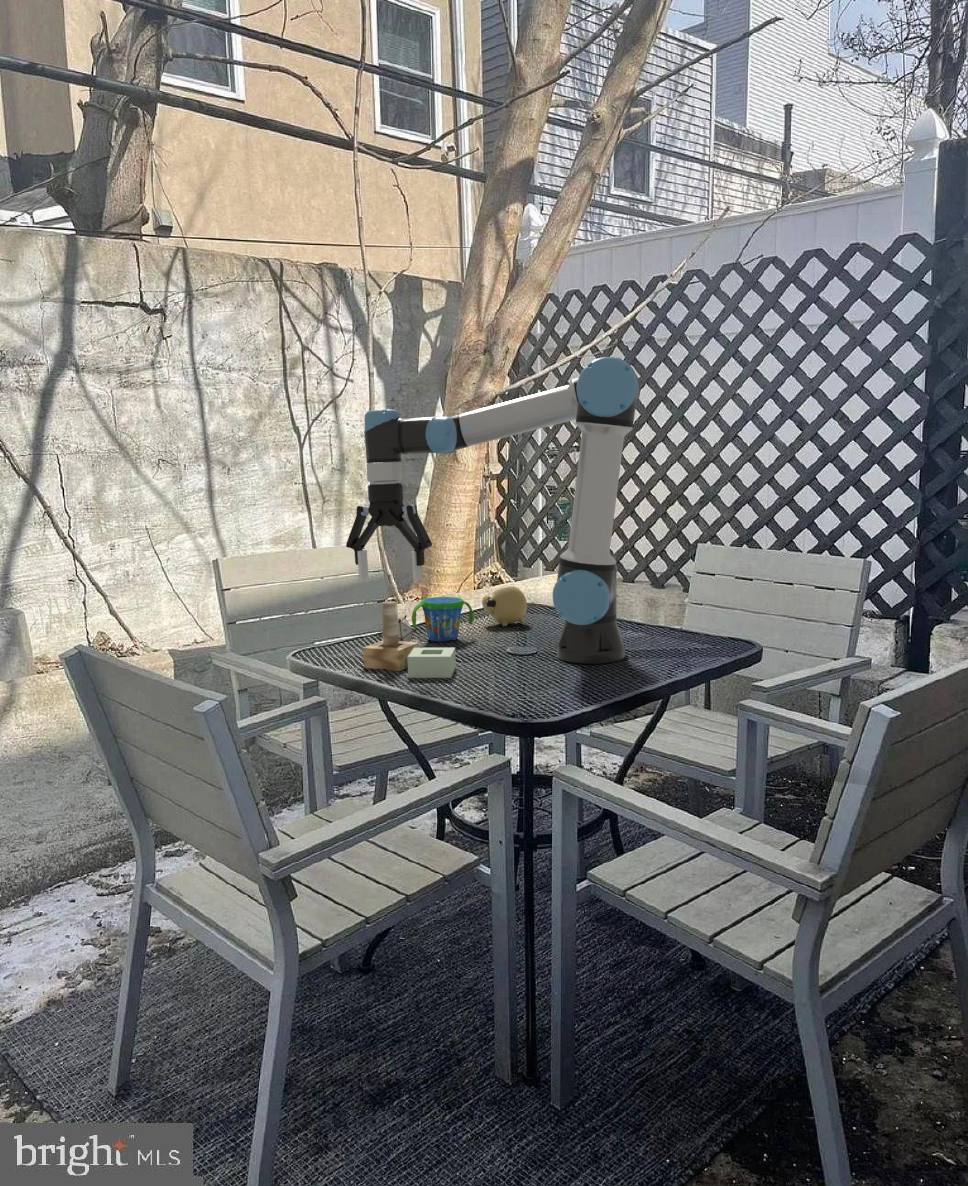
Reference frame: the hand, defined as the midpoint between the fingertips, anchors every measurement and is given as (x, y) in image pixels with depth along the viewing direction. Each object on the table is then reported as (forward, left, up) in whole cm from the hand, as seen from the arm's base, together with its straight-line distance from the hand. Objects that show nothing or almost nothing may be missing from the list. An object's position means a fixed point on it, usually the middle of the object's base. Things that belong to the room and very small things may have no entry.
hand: (390, 580), depth 202 cm
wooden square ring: (0, 0, -19) cm, 19 cm away
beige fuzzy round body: (-5, -52, -19) cm, 56 cm away
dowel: (0, 0, -19) cm, 19 cm away
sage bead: (-12, +4, -19) cm, 23 cm away
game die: (+7, -15, -19) cm, 25 cm away
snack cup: (+2, -29, -19) cm, 35 cm away
